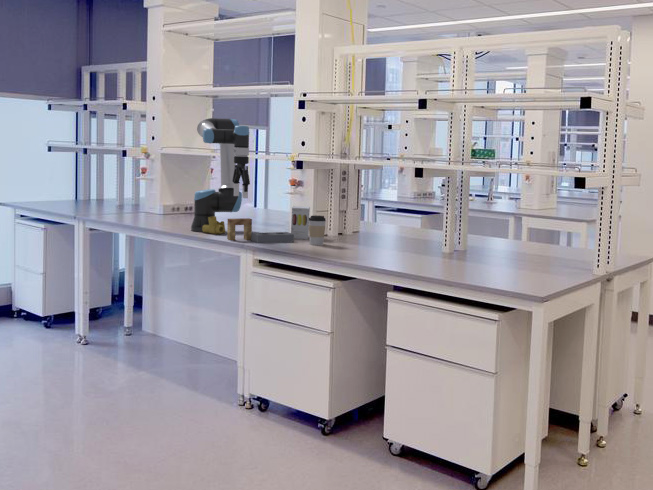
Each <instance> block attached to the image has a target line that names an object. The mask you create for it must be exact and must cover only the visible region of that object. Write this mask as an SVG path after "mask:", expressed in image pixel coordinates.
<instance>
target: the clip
mask: <svg viewBox="0 0 653 490" xmlns="http://www.w3.org/2000/svg"><path fill="white" fill-rule="evenodd" d="M252 224H253V219H252V218H249V217H248V218H247V217H246V218H245V217H243V218H227V227H226V228H227V229H226V231H227V233H226V234H227V236H226V237H227V239H228V240H227V239H226V240H227V241H229V240H233V241H236V226H243V240H244V241H251V233H253V231H252V230H253V229H252V228H253V225H252Z"/></svg>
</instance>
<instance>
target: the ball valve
mask: <svg viewBox="0 0 653 490" xmlns="http://www.w3.org/2000/svg"><path fill="white" fill-rule="evenodd" d="M208 220H209V225H204V226H203V227H202V231H203V232H202V233H206V234H212V235H213V234H214V235H217V236H218V235H220V234H226V226H225V221H222V220H221V221H220V222H219V220H218V219H217V216H216V215H215V216H212V217H208Z"/></svg>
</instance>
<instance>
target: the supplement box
mask: <svg viewBox="0 0 653 490" xmlns="http://www.w3.org/2000/svg"><path fill="white" fill-rule="evenodd" d="M310 209H311V207H310V206H294V205H293V206H292V207H291V219H290V220H291V222H290V233H291V234H294V240H295V239H297V240H298V239H299V240H301V239H302V240H308V239H309V238H310V236H309V218H310V212H311V211H310Z"/></svg>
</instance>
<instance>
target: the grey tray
mask: <svg viewBox="0 0 653 490" xmlns="http://www.w3.org/2000/svg"><path fill="white" fill-rule="evenodd" d="M251 240H252V241H251ZM251 240H250V241H251V242H254V243H257V244H267V243H268V244H269V243H270V244H273V243H274V244H275V243H294V241H295V238H294V234H291V232H288V231H280V232H279V231H277V232H273V231H272V232H267V231H266V232H252V233H251Z"/></svg>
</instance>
